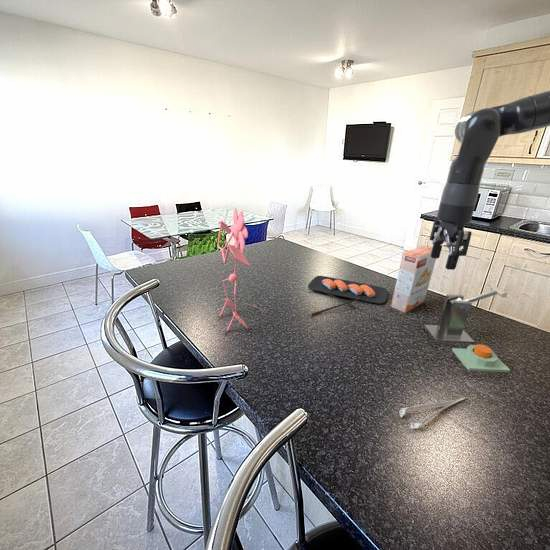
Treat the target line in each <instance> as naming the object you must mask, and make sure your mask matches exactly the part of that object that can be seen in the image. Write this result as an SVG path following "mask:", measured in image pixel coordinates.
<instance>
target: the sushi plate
mask: <svg viewBox="0 0 550 550" xmlns="http://www.w3.org/2000/svg"><path fill="white" fill-rule="evenodd" d="M307 288H308V289H309V290H311V291H315V292H318V293H319V292H320V293H323V294H327V295H328V296H330V297H332V298H334V299H336V300H338V301H339V302H341V304H337V305H334V306H331V307H327V308H324V309H321V310H318V311H315V312H312V313H311V316H316V315H318V314H321V313H325V312H328V311H330V310H334V309H336V308H339V307H342V306H344V305H348V306H350V307H351V308H353V309H356V310H359V311H361V312H365V310H363V309H362V308H359V307H357V306H355V305H353V304H351V303H353V302H356V301H361V302H365V303H371V304H377V305H383V304H385V303H386V302H387V298H388V293H389V292H388V289H387V288H385V287H382V286H378V285H373V284H368V283H362V282H357V281H352V280H346V279H341V278H337V277H331V276H325V275H316V276H315V277H313V279H312V280H311V281H310V282H309V283H308V285H307ZM337 296H338V297H337ZM339 297H343V298H347V299H352V300H350V301H348V302H347V301H345V300H344V299H341V298H339Z"/></svg>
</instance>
